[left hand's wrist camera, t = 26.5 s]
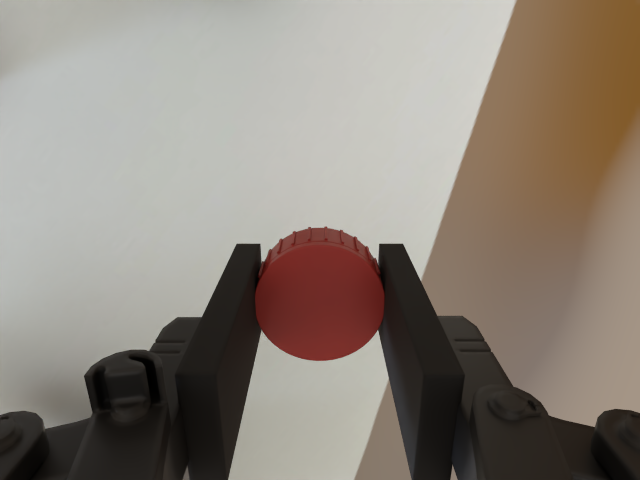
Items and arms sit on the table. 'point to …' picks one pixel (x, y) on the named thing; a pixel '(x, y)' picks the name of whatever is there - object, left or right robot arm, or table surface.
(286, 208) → the table surface
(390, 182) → the table surface
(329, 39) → the table surface
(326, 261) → the cap
